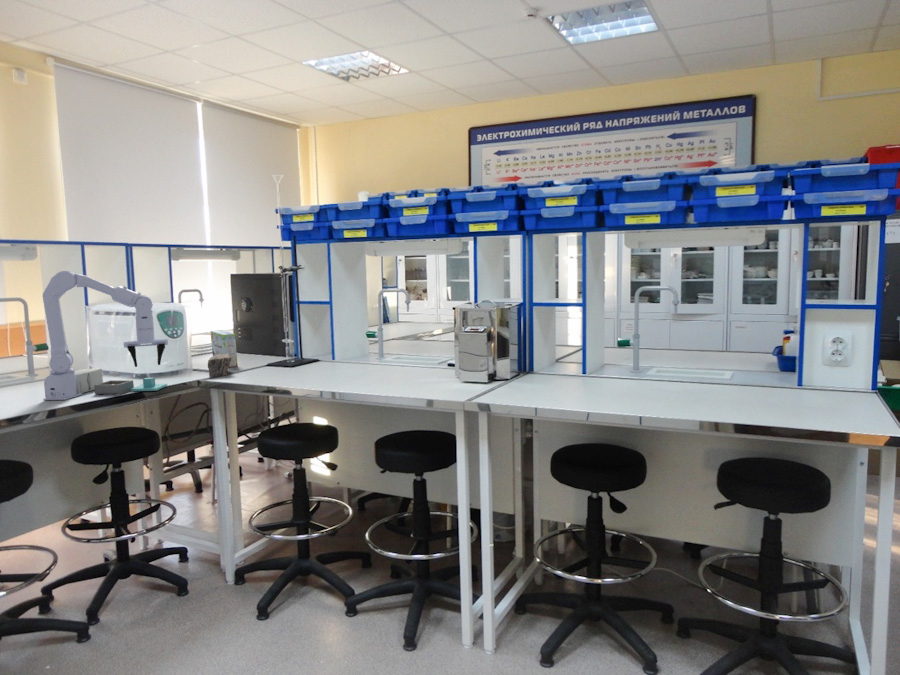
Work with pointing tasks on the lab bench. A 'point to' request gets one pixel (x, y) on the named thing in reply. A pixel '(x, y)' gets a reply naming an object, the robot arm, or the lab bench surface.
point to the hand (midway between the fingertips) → (147, 365)
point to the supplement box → (87, 379)
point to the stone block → (219, 364)
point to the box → (114, 387)
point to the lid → (149, 385)
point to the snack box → (224, 345)
